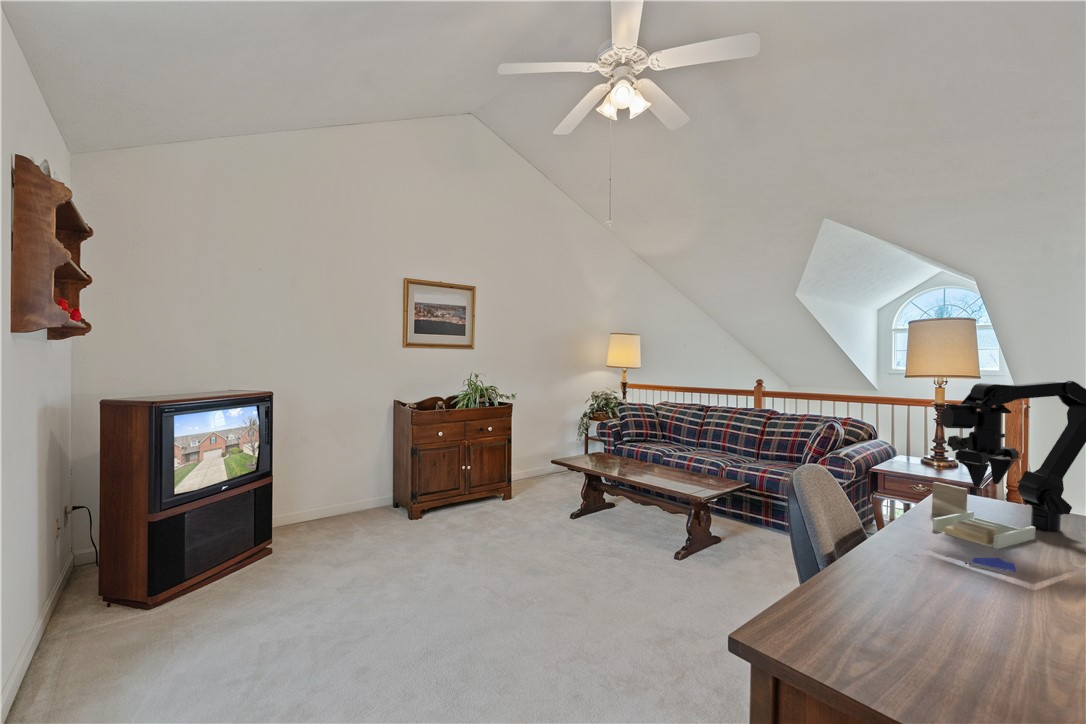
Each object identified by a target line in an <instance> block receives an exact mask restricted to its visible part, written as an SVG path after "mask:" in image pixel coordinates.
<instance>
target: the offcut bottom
mask: <svg viewBox="0 0 1086 724" xmlns="http://www.w3.org/2000/svg"><path fill="white" fill-rule="evenodd" d="M945 533H947V534H946V535H948V534H951V535H950V536H952V535H954V536H953V537H955V536H958V537H961V538H960V539H962V538H965V539H968V540H967V541H969V540H971V541H970V542H972V541H975V542H978V543H977V544H979V543H982V544H985V545H984V546H986V545H988V544H991V543H994V536H990V537H983V536H979V535H975V534H972V533H968V532H965V531H961V530H958V529H954V525H951V526H947V527H945V532H944V533H943V534H945ZM958 537H957V538H958ZM965 539H964V540H965ZM975 542H974V543H975ZM982 544H981V545H982Z"/></svg>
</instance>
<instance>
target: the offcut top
mask: <svg viewBox="0 0 1086 724" xmlns="http://www.w3.org/2000/svg"><path fill="white" fill-rule="evenodd" d="M954 529H958V530H961V531H965V532H968V533H972V534H975V535H979V536H983V537H990V536H994V535H997V529H996V528H992V527H988V526H984V525H980V524H977V523H973V522H969V521H965V520H963V521H959V522H954Z"/></svg>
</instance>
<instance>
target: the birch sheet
mask: <svg viewBox="0 0 1086 724" xmlns="http://www.w3.org/2000/svg"><path fill="white" fill-rule="evenodd" d="M931 502H932V503H931V513H933V514H935V515H940V516H941V517H943V516H948V515H953V514H958V513H963V512H968V511H967V510H968V509H967V507H968V488H965V487H960V486H957V485H951V484H946V483H942V482H937V481H934V482H932V499H931Z"/></svg>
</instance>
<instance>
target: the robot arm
mask: <svg viewBox="0 0 1086 724" xmlns="http://www.w3.org/2000/svg"><path fill="white" fill-rule="evenodd" d="M1047 397H1048V398H1049V397H1050V398H1051V397H1058V398H1059V400H1060V402H1061V403H1062V404H1063V405H1065V406H1066V407H1067V411H1066V419H1067V424H1066V426H1065V427H1064V429H1063V430H1062V432H1061V434H1060V435H1059V437H1058V439H1057V440H1056V441H1055V444H1054V445H1053V446H1052V448H1051V449H1050V451H1049V453H1048V454H1047V456H1046V457H1045V459H1044V460H1043V462H1042V463H1041V465H1040V467H1039V468H1037V469H1036V470H1034V471H1029V470H1025V471H1024V472H1023V474H1022V477H1021V478H1020V479H1019V480H1018V481H1017V484H1018V485H1017V491H1018V494H1019V495H1020V497H1021V498H1022V501H1023V502H1024V504H1025V505H1028V506H1031V511H1030V513H1031V515H1030V526H1033V527H1035V531H1037V530H1038V531H1040V532H1046V533H1047V532H1051V533H1060V532H1061V527H1062V526H1061V524H1062V521H1061V520H1062V515H1070V514H1071V511H1072V509H1073V507H1072V505H1071V504H1069V503H1068V502H1067V501H1066V500H1065V499H1064V498H1063V497H1062V496H1063V493H1064V490H1065V487H1064V478H1065V475H1066V474H1067V473H1068V471H1069V470H1070V468H1071V466H1072V465H1073V463H1074V461H1075V460H1076V458H1077V457H1078V455H1079V454H1080V452H1081V451H1082V449H1083V448H1084V446H1085V444H1086V387H1083V386H1082V385H1081V384H1079V383H1078V382H1076V381H1074V380H1063V379H1062V380H1061V379H1056V380H1055V381H1044V382H1042V381H1041V382H1034V383H1033V382H1032V383H1021V384H1019V383H1018V384H997V383H985V382H984V383H983V382H979V383H976V384H974V385H973V386H972V388H971V389H970V393H968V395H966V397H965V398H964V400H963V401H962V402H961V403H959V404H956V403H945V408H943V409H942V411H941V413H940V422H941V424H942V426H943V427H945V429H965V430H967V429H968V430H969V429H970V430H971V429H973V430H972V431H970V432H969V433H968V436H967V437H960V436H959V435H952V436H948V437H947V442H946V443H947V444H946V446H948V447H949V448H951V451H952V452H954V455H955V457H954V458H955V460H956V461H958V463H960V464H962V465H963V466H965V467H966V469H967V471H968V474H969V476H970V479H971V481H972V485H973V487H975V488H979V489H980V487H981V485H982V483H983V481H984V479H985V477H986V474H987V471H988V468H989V467H990V471H991V478H992V483H993V484H995V485H999V484H1000V482H1002V480H1003V478H1004V477H1005V475H1006V474H1007V472H1008V470H1009V469H1011V467H1012V465H1014V463H1016V460H1018V459H1019V451H1018V450H1017V449H1016V448H1015V447H1007V446H1002V439H1003V438H1006V433H1003V432H1002V429H1003V427H1002V426H1003V423H1002V421H1003V419H1002V418H1003V414H1012V410H1010V409H1009V408H1008V407H1006V406H1005V404H1008V403H1013V402H1014V401H1018V400H1021V399H1022V400H1024V399H1034V398H1035V399H1038V398H1047Z"/></svg>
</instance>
